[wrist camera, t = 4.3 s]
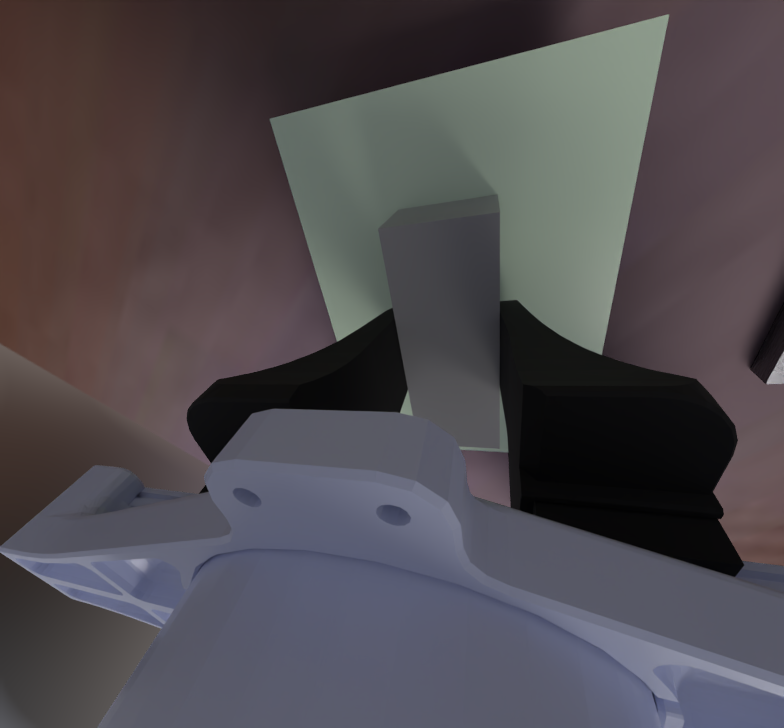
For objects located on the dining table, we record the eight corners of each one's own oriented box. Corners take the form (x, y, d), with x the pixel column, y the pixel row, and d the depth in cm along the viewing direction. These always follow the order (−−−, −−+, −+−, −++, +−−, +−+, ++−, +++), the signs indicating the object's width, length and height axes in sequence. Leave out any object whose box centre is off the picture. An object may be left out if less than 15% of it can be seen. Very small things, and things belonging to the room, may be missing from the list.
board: (577, 442, 15) (596, 508, 13) (372, 433, 18) (352, 484, 16) (654, 23, 8) (739, -30, 5) (282, 118, 11) (215, 117, 8)
